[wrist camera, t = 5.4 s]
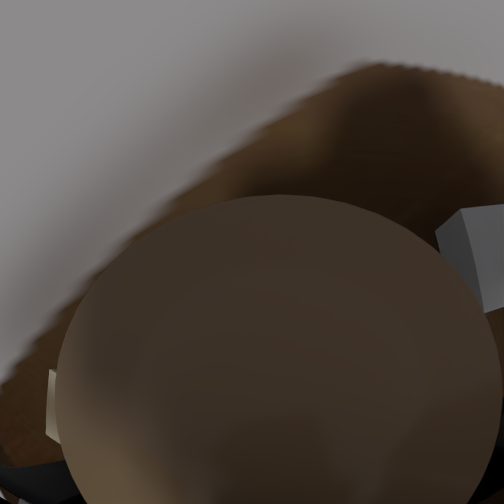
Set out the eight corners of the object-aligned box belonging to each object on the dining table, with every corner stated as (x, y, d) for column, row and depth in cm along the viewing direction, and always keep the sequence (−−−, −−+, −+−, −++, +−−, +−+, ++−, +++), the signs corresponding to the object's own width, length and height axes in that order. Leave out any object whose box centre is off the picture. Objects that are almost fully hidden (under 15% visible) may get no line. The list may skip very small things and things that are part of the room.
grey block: (493, 306, 16) (527, 298, 12) (451, 319, 16) (484, 313, 12) (475, 225, 17) (504, 204, 13) (434, 231, 18) (460, 208, 14)
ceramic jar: (312, 418, 15) (349, 619, 1) (225, 379, 16) (29, 472, 3) (354, 332, 16) (545, 301, 2) (266, 294, 17) (165, 141, 4)
